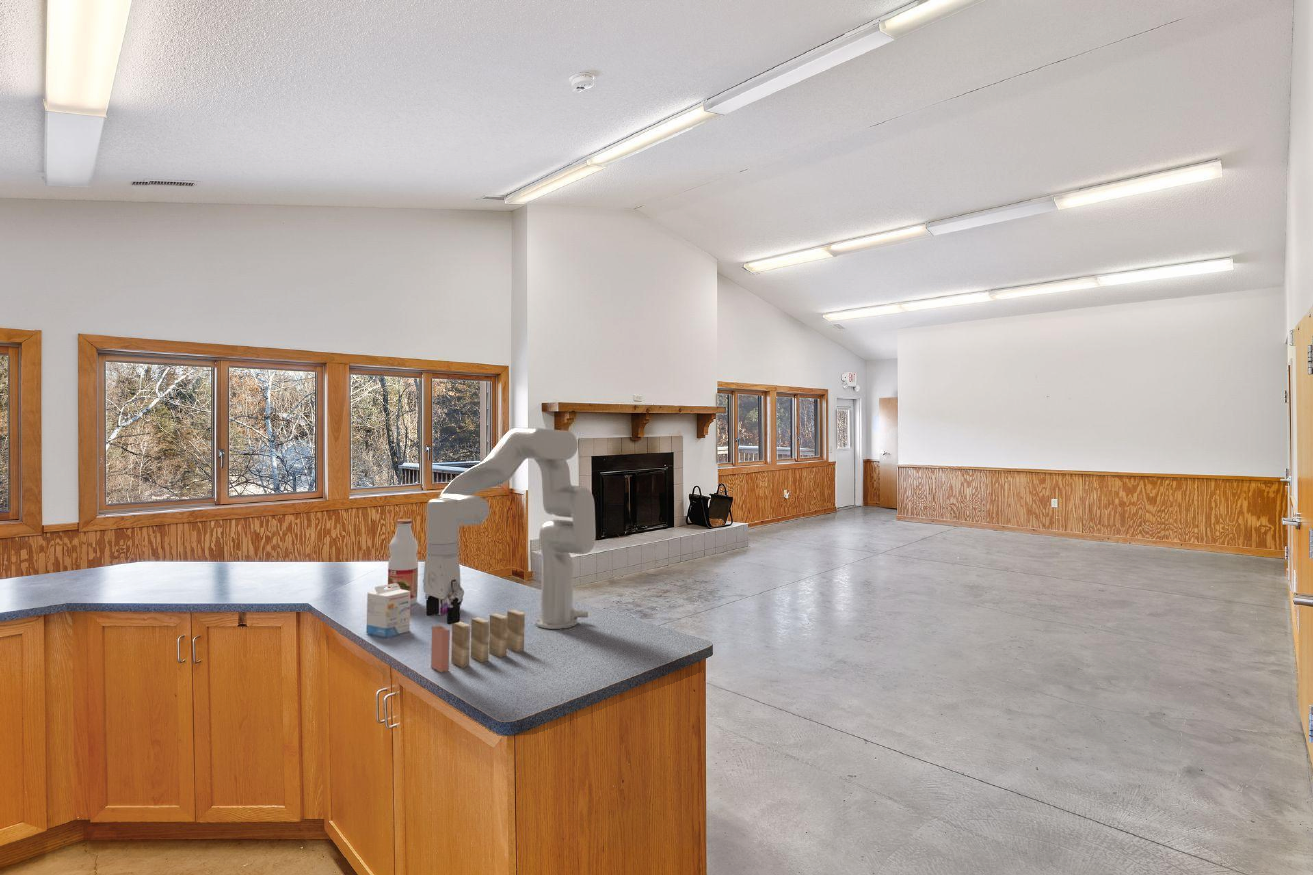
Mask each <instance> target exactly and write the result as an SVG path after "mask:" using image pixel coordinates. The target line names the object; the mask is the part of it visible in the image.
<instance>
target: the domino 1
mask: <svg viewBox="0 0 1313 875" xmlns="http://www.w3.org/2000/svg"><path fill="white" fill-rule="evenodd" d="M450 630H451V629H449V628H447V627H444V626H442V625H440V624H438V625H434V626H431V649H430V650H431V653H430V654H431V658H430V659H431V660H430V668H431V667H432V668H431V669H433V668H434V669H433V670H435V669H436V670H435V671H437V670H438V671H437V672H439V671H440V672H443V671H447V672H449V671H450V639H451V637H450V632H451V631H450ZM448 670H449V671H448ZM440 672H439V673H440ZM443 673H444V672H443Z"/></svg>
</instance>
